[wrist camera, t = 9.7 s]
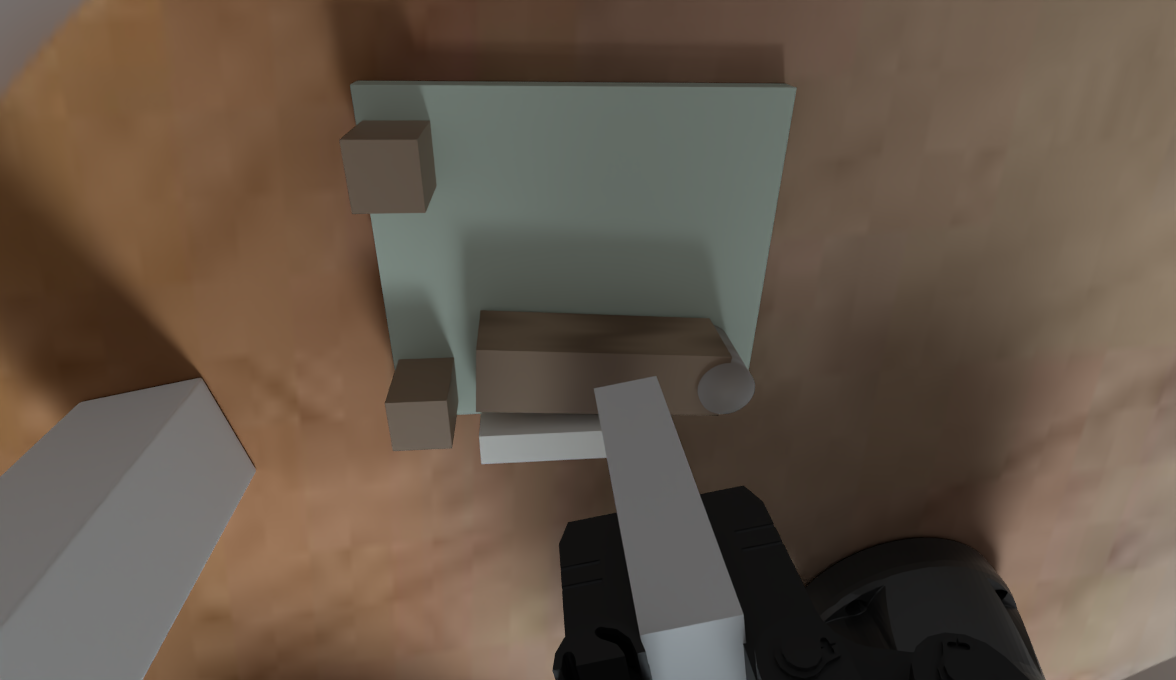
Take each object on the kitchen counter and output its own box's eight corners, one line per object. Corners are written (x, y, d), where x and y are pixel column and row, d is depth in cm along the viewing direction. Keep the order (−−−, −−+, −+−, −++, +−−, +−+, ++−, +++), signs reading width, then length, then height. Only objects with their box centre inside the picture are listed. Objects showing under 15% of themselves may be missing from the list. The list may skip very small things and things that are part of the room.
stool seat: (785, 83, 25) (842, 103, 21) (735, 389, 33) (770, 452, 28) (357, 80, 24) (320, 101, 19) (406, 402, 31) (387, 472, 27)
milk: (146, 491, 32) (-394, 1219, 13) (78, 398, 29) (-749, 1168, 10) (260, 469, 32) (-117, 1166, 13) (204, 373, 29) (-391, 1100, 10)
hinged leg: (734, 319, 29) (762, 361, 26) (721, 373, 30) (746, 420, 27) (480, 310, 28) (475, 353, 24) (480, 367, 29) (475, 416, 26)
